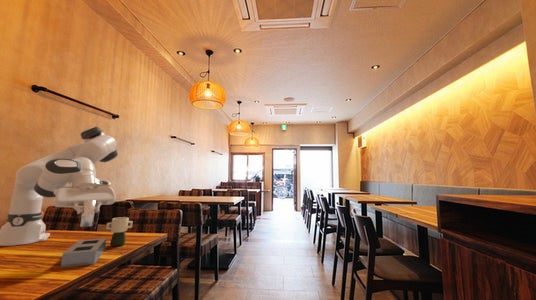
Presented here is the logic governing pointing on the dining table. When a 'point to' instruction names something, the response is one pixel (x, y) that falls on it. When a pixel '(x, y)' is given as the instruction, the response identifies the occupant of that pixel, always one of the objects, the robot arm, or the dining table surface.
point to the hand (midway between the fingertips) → (88, 212)
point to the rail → (83, 253)
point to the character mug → (119, 230)
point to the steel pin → (88, 213)
